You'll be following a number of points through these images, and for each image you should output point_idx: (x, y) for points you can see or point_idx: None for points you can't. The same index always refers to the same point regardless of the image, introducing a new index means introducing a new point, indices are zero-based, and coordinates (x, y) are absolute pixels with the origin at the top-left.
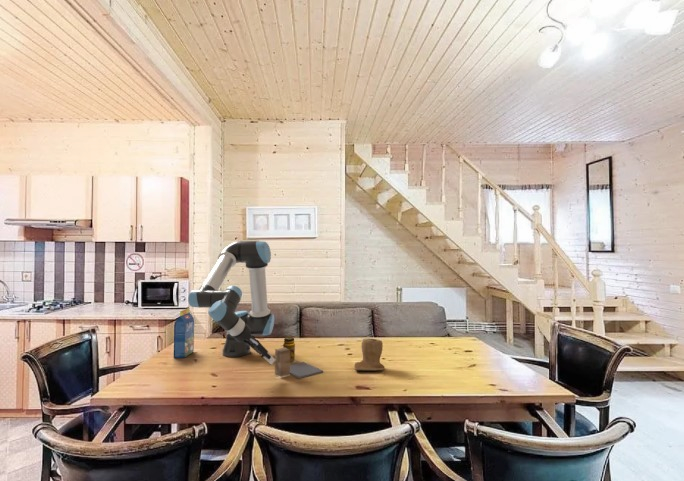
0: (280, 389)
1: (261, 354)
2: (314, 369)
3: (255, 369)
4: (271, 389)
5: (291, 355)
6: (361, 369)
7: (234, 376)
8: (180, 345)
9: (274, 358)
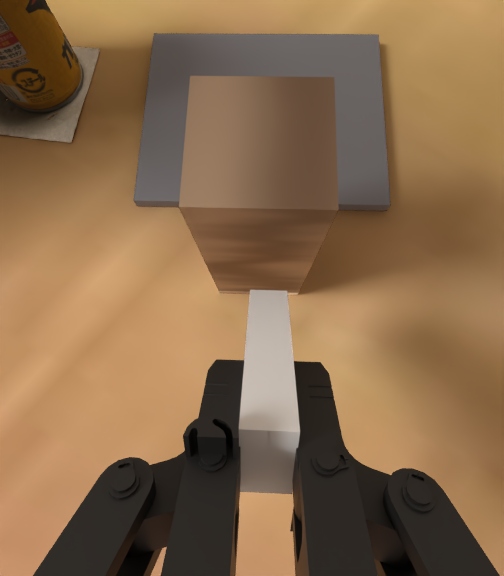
0: (497, 410)
1: (294, 534)
2: (329, 60)
3: (15, 342)
4: (462, 463)
5: (57, 41)
6: None
7: (24, 562)
8: None
9: (287, 302)
